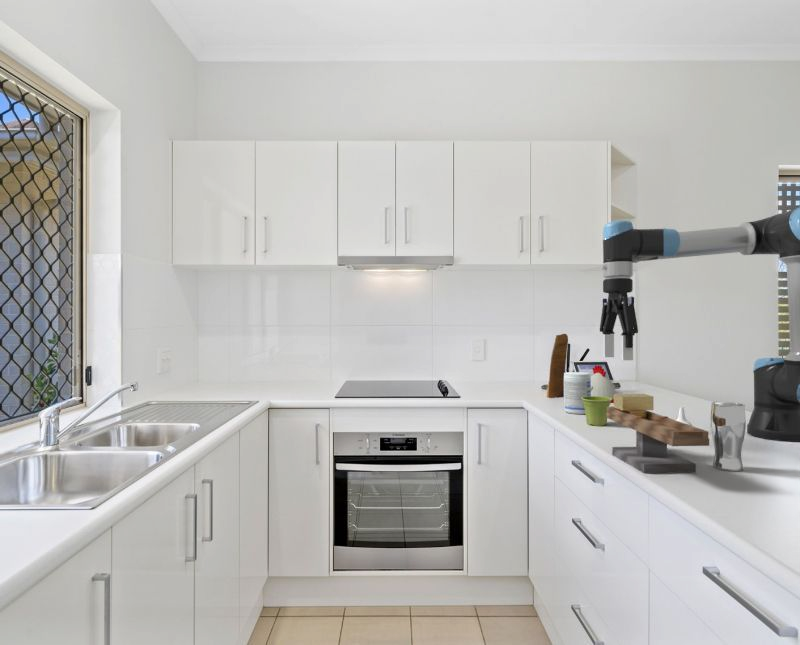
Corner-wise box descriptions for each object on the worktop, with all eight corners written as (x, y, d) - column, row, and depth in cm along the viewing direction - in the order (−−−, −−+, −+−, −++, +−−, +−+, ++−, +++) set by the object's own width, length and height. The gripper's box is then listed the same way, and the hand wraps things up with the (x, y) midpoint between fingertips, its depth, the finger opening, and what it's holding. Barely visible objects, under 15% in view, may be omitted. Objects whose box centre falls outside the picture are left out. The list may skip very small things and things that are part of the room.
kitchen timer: (603, 397, 231) (603, 363, 231) (624, 402, 218) (624, 366, 218) (575, 399, 228) (575, 364, 227) (595, 404, 214) (595, 367, 214)
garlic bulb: (665, 432, 163) (663, 407, 162) (681, 429, 165) (679, 404, 164) (682, 436, 157) (680, 410, 156) (698, 433, 159) (696, 407, 158)
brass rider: (613, 414, 138) (613, 393, 138) (643, 414, 138) (643, 393, 138) (622, 418, 133) (622, 396, 133) (653, 417, 133) (653, 396, 133)
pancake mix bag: (573, 394, 241) (573, 333, 241) (556, 399, 227) (556, 334, 226) (559, 392, 246) (559, 333, 245) (542, 397, 231) (541, 334, 231)
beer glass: (748, 467, 122) (748, 403, 122) (742, 474, 117) (742, 407, 117) (713, 462, 127) (713, 400, 127) (707, 468, 122) (707, 404, 122)
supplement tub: (593, 415, 190) (593, 374, 189) (567, 414, 190) (566, 374, 190) (587, 410, 199) (586, 371, 199) (561, 410, 200) (561, 371, 200)
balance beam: (599, 447, 142) (599, 406, 142) (642, 446, 143) (642, 405, 143) (663, 484, 110) (663, 431, 110) (718, 483, 111) (718, 430, 111)
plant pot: (616, 427, 168) (616, 400, 168) (586, 427, 168) (586, 400, 168) (606, 421, 177) (606, 396, 177) (578, 421, 178) (578, 396, 178)
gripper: (587, 281, 155) (587, 355, 156) (623, 274, 132) (624, 362, 133) (612, 281, 156) (612, 355, 156) (652, 274, 133) (652, 362, 133)
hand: (617, 358), depth 144 cm, fingers open, 10 cm apart
